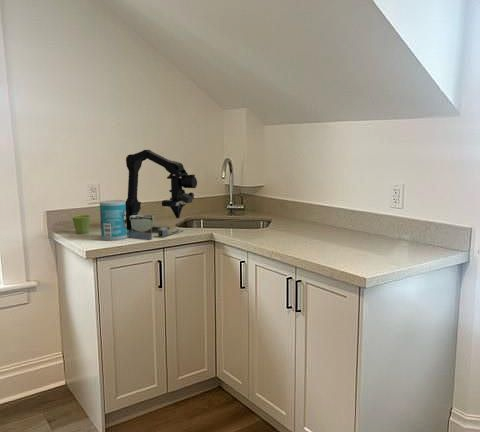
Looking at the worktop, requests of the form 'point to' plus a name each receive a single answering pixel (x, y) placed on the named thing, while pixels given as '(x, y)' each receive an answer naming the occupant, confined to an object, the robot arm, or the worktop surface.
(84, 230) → the plant pot
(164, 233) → the clip rail
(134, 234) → the bracket
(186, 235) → the worktop surface
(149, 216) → the food container
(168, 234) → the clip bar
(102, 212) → the food can
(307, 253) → the worktop surface
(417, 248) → the worktop surface
